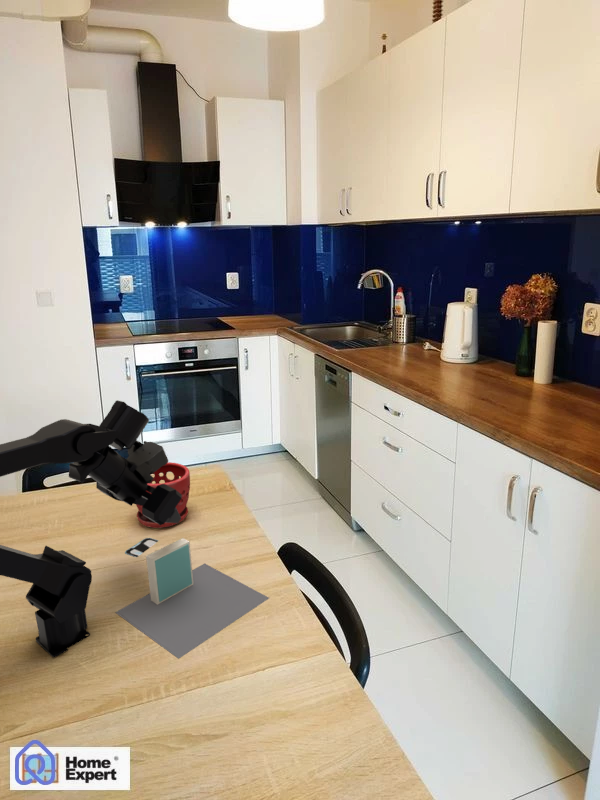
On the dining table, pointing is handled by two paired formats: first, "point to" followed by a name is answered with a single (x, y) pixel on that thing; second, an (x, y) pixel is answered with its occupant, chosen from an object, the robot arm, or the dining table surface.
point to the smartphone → (141, 547)
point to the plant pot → (178, 484)
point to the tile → (169, 570)
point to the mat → (193, 611)
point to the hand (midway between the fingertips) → (163, 512)
